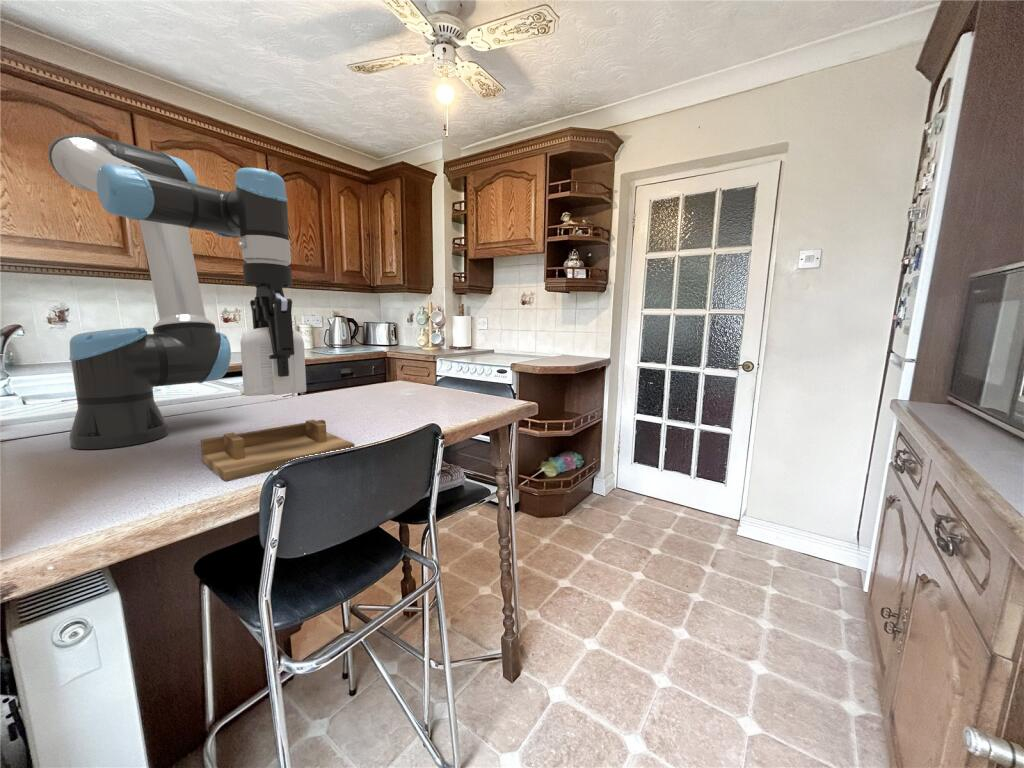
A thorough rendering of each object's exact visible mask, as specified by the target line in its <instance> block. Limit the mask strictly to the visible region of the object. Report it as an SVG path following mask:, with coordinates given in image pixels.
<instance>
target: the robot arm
mask: <svg viewBox="0 0 1024 768" xmlns="http://www.w3.org/2000/svg"><path fill="white" fill-rule="evenodd" d="M47 158H48V161H49V164H50V167H52V169H53V170H54V171H55V173H56V174H57V175H58V176H59V177H60V178H62V180H64V181H65V182H66V183H68V184H70V185H72V186H74V187H76V188H78V189H80V190H83V191H87V192H94V193H96V194H97V196H98V200H99V202H100V203H101V206H102V208H103V209H104V210H105V211H106V212H107V213H109V214H110V215H114V216H118V217H119V216H120V217H123V218H124V217H125V218H127V219H130V220H135V221H139V224H140V229H141V234H142V238H143V243H144V248H145V249H144V250H145V253H146V258H147V264H148V268H149V269H148V270H149V275H150V278H151V282H152V283H151V284H152V288H153V293H154V297H155V303H156V307H157V313H158V317H159V320H158V321H157V322H156V323H155V324H154V325H153V326H152V332H153V333H148V331H147V330H146V329H145V328H144V327H125V328H114V329H103V330H95V331H88V332H82V333H78V334H75V335H73V336H72V337H71V338H70V340H69V358H68V360H69V361H71V362H70V363H71V368H72V376H73V382H74V388H75V389H74V390H75V395H76V401H77V402H76V403H77V410H76V413H75V417H74V419H73V422H72V426H71V429H70V433H69V443H70V447H71V448H72V449H78V450H102V449H103V450H104V449H112V448H120V447H128V446H134V445H135V446H136V445H139V444H142V443H143V444H144V443H149V442H152V441H155V440H158V439H161V438H164V437H166V436H167V435H168V434H169V429H168V423H167V421H166V419H165V418H164V416H163V414H162V412H161V410H160V409H159V407H158V405H157V403H156V401H155V396H154V390H153V389H154V387H164V386H165V387H166V386H175V385H186V384H196V383H198V384H203V383H206V382H211V381H212V382H213V381H218V380H220V379H222V378H223V377H224V376H225V375H226V374H227V372H228V370H229V367H230V364H231V355H232V354H231V353H232V352H231V351H232V349H231V344H230V340H229V338H228V336H227V335H226V334H224V333H221V332H218V331H217V330H216V324H215V323H214V322H212V320H209V319H208V318H207V317H206V313H205V308H204V302H203V297H202V293H201V287H200V283H199V277H198V271H197V267H196V262H195V257H194V252H193V246H192V242H191V236H190V231H189V229H195V230H201V231H205V232H212V233H213V234H215V235H216V236H219V237H222V238H228V239H229V238H232V239H238V238H240V241H238V242H237V245H238V247H239V248H241V254H242V256H241V257H242V260H243V261H244V262H246V263H244V264H243V265H242V273H243V284H244V285H246V286H247V287H255V291H256V292H255V293H256V294H255V297H254V299H250V301H249V303H250V309H251V315H252V326H253V327H252V328H253V329H257V328H264V327H269V332H270V338H271V344H272V350H273V355H270V356H269V358H270V359H271V361H272V374H273V387H274V394H273V395H274V396H281V395H288V394H292V393H291V379H290V365H289V358H290V356H291V355H294V341H293V330H294V329H293V316H292V315H293V314H292V309H293V308H292V307H293V300H292V298H285V294H284V290H283V289H287V288H291V287H293V273H292V268H291V267H290V266H289V265H290V264H291V263H292V256H291V255H292V254H291V241H290V233H289V232H290V231H289V230H290V229H289V213H288V212H289V210H288V200H289V199H288V197H287V192H286V191H287V190H286V183H285V180H284V178H282V176H280V175H279V174H277V173H276V172H273V171H270V170H268V169H263V168H258V167H242V168H238V169H237V170H236V172H235V182H234V186H235V189H233V190H229V191H228V190H222V189H219V188H214V187H212V186H211V187H210V186H206V185H201V184H199V181H198V179H197V177H196V173H195V171H194V170H193V169H192V168H191V166H190V165H189V164H188V163H187V162H185V161H184V160H183V159H181V158H179V157H175V156H172V155H170V154H168V153H166V152H162V151H154V150H151V149H148V148H144V147H140V146H137V145H134V144H130V143H127V142H123V141H121V140H116V139H112V138H110V137H105V136H101V135H97V134H91V133H90V134H89V133H68V134H64V135H61V136H58V137H56V138H55V139H53V141H52V142H50V143H49V146H48V151H47Z"/></svg>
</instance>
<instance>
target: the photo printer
mask: <svg viewBox="0 0 1024 768" xmlns="http://www.w3.org/2000/svg"><path fill="white" fill-rule="evenodd" d="M293 341H294V355H291V356H290V358H289V365H290V379H291V393H290V394H298V393H299V394H300V393H301V394H302V393H306V392H307V376H306V374H307V372H306V356H305V355H306V354H305V342H304V339H303V336H302V332H300V331H298V330H295V329H293ZM239 344H240V357H241V372H242V385H243V387H242V388H243V395H244V396H245V397H253V396H254V397H255V396H268V395H270V396H271V395H274V387H273V374H272V361H271V359H270V358H269V356H270V355H273V350H272V344H271V338H270V332H269V327H264V328H257V329H249V330H246V331H243V332H242V335H241V339H240V343H239Z"/></svg>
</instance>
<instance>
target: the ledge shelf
mask: <svg viewBox="0 0 1024 768" xmlns="http://www.w3.org/2000/svg"><path fill="white" fill-rule="evenodd" d="M351 447H355V443H354V442H352V441H349V440H346V439H344V438H341V437H339V436H336V435H334V434H332V433H329V432H327V424H326V420H324V419H319V420H315V419H308V420H305V422H300V423H294V424H289V425H281V426H277V427H271V428H265V429H257V430H254V431H247V432H240V433H235V432H228V433H223V435H222V436H218V437H217V436H216V437H211V438H205V439H200V449H201V459H202V463H204V464H205V465H206V466H207V467H209V469H211V470H212V472H214V473H215V474H216V475H218V476H219V477H220V478H221V479H222V480H223V481H224V482H228V481H233V480H239V479H241V478H245V477H250V476H254V475H255V476H256V475H259V474H262V473H266V472H271V471H272V472H273V471H274V470H275V469H276V468H277V467H279V466H281V465H283V464H285V463H286V462H288V461H291V460H293V459H296V458H300V457H305V456H309V455H315V454H321V453H326V452H330V451H336V450H341V449H346V448H351ZM276 470H277V469H276ZM276 470H275V471H276Z"/></svg>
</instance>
